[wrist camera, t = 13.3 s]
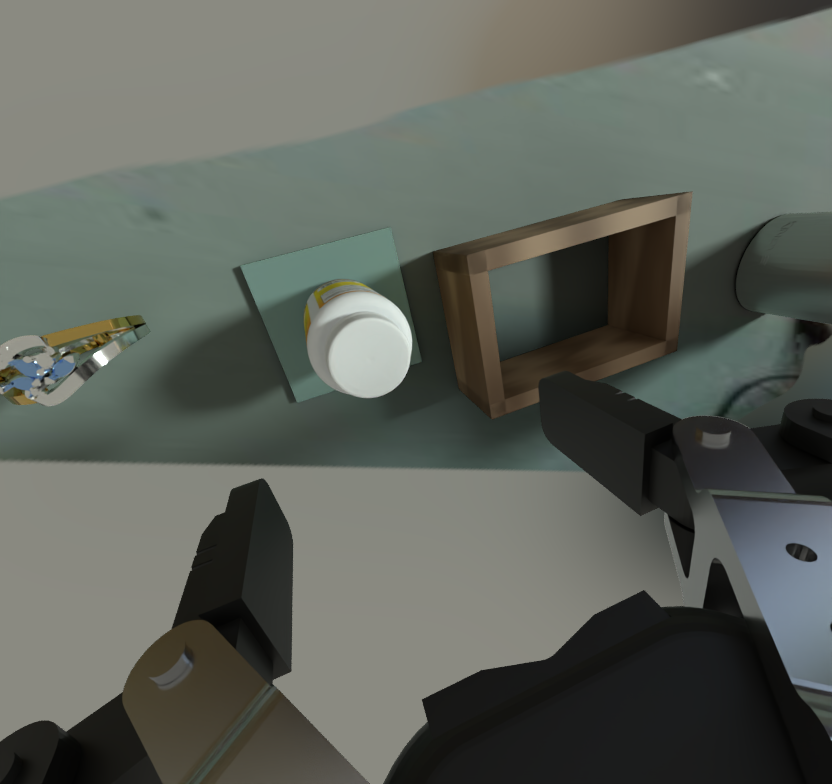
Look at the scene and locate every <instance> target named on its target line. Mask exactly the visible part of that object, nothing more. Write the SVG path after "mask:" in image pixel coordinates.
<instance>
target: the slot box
mask: <svg viewBox="0 0 832 784" xmlns="http://www.w3.org/2000/svg"><path fill="white" fill-rule="evenodd" d="M692 192H693V191H692ZM692 192H683V193H675V194H666V195H657V196H648V197H640V198H631V199H622V200H618V201H614V202H611V203H607V204H604V205H600V206H596V207H593V208H589V209H585V210H582V211H578V212H575V213H571V214H567V215H564V216H560V217H556V218H553V219H549V220H546V221H542V222H538V223H535V224H531V225H527V226H524V227H520V228H516V229H513V230H509V231H506V232H502V233H498V234H495V235H491V236H487V237H484V238H480V239H477V240H473V241H469V242H466V243H462V244H458V245H455V246H451V247H448V248H444V249H440V250H437V251H433V256H434V262H435V267H436V272H437V277H438V282H439V288H440V293H441V298H442V303H443V308H444V314H445V319H446V324H447V329H448V335H449V340H450V345H451V350H452V355H453V361H454V366H455V371H456V376H457V381H458V387H459V390H460V391H461V392H463V393H464V394H465V395H466V396H467V397H468V398H469V399H470V400H471V401H472V402H473V403H474V404H476V405H477V406H478V407H479V408H480V409H481V410H482V411H483V412H484V413H485V414H486V415H487V416H489V417H490V418H491V419H495V418H497V417H500V416H503V415H505V414H508V413H511V412H514V411H516V410H519V409H522V408H524V407H527V406H530V405H532V404H535V403H538V402H540V401H539V390H538V384H539V381H540V380H541V379H542V378H545V377H548V376H551V375H553V374H556V373H559V372H562V371H569V372H571V373H573V374H575V375H577V376H579V377H581V378H583V379H585V380H590V381H597V380H600V379H602V378H605V377H608V376H610V375H613V374H616V373H619V372H621V371H624V370H627V369H629V368H632V367H635V366H637V365H640V364H643V363H645V362H648V361H651V360H654V359H656V358H659V357H662V356H664V355H667V354H670V353H672V352H675V351H677V346H678V336H679V325H680V315H681V305H682V294H683V284H684V274H685V264H686V253H687V243H688V233H689V223H690V212H691V202H692ZM608 235H609V252H608V325H606V326H603V327H600V328H597V329H594V330H591V331H589V332H586V333H583V334H580V335H577V336H574V337H571V338H568V339H565V340H562V341H559V342H557V343H554V344H551V345H548V346H545V347H542V348H539V349H536V350H533V351H530V352H527V353H524V354H522V355H519V356H516V357H513V358H510V359H507V360H504V361H501V362H500V359H499V352H498V344H497V336H496V329H495V321H494V314H493V306H492V298H491V291H490V283H489V276H488V271H489V270H492V269H496V268H499V267H502V266H506V265H509V264H513V263H516V262H519V261H523V260H526V259H530V258H533V257H536V256H540V255H543V254H547V253H550V252H553V251H557V250H560V249H564V248H567V247H570V246H574V245H577V244H581V243H584V242H588V241H591V240H594V239H598V238H601V237H605V236H608Z"/></svg>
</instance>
